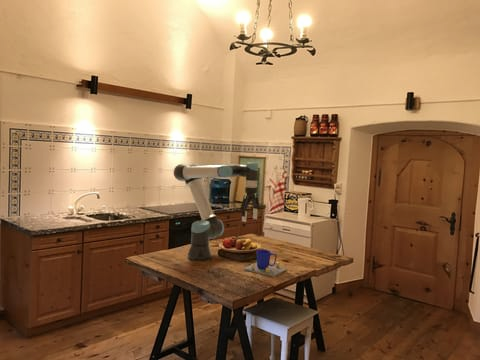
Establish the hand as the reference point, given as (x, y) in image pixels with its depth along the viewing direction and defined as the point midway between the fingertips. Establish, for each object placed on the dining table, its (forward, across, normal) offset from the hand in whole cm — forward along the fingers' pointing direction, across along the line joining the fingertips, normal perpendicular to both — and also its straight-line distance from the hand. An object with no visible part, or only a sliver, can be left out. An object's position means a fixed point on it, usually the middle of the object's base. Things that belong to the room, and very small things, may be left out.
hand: (249, 220), depth 256 cm
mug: (+26, -8, -18) cm, 32 cm away
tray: (+27, -9, -18) cm, 33 cm away
